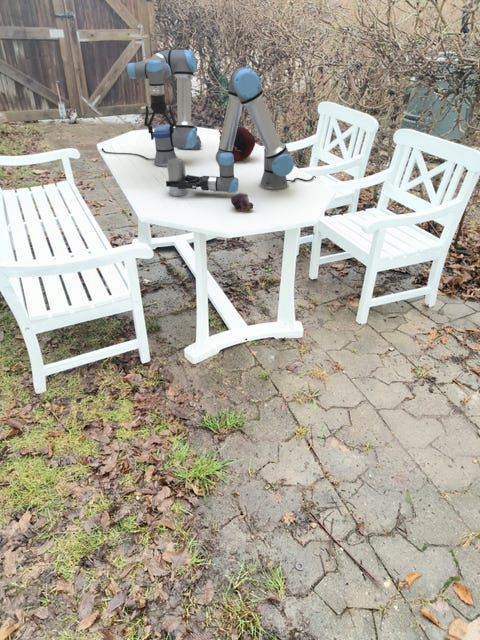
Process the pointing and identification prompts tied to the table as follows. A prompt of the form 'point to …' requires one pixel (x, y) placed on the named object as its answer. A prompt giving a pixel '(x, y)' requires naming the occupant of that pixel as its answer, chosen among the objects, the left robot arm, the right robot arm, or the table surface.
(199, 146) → the koala plush
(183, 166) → the jar
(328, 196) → the table surface
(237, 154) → the dark red rounded piece
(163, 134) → the lid
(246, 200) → the rock
